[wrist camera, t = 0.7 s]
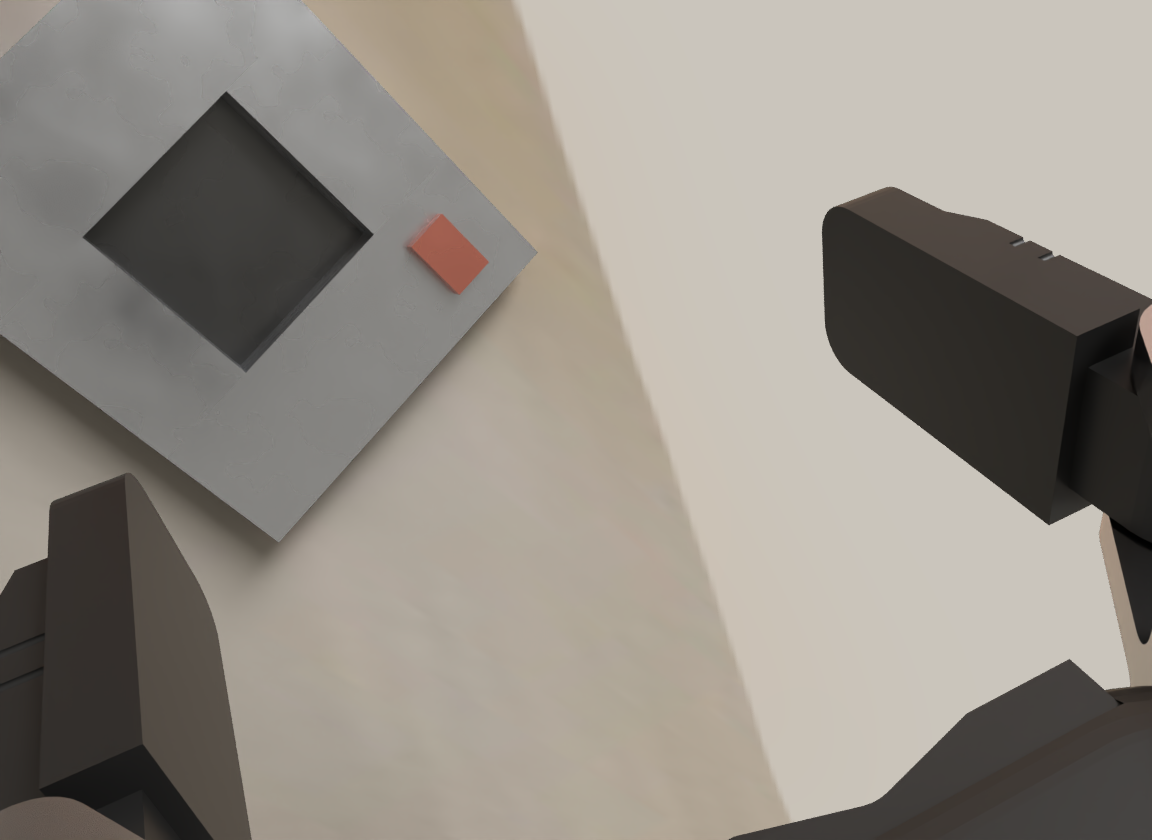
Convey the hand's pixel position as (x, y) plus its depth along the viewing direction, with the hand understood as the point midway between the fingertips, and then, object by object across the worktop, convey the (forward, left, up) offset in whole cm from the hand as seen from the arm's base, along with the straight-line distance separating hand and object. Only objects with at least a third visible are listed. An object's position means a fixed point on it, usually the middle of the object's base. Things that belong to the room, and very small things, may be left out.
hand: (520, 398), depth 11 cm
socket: (-1, +1, -26) cm, 26 cm away
